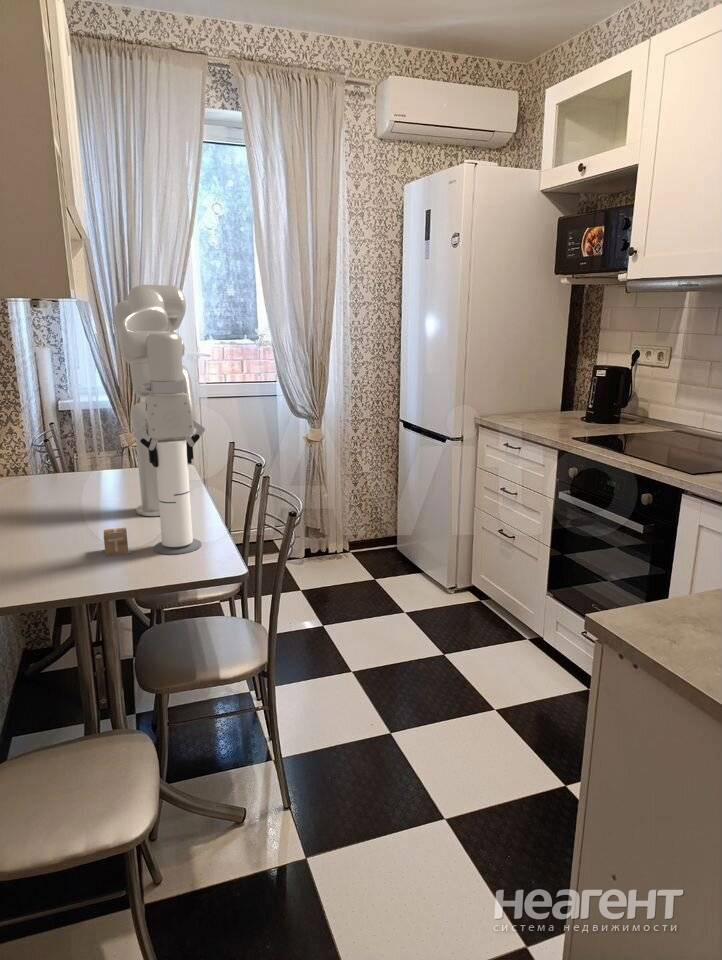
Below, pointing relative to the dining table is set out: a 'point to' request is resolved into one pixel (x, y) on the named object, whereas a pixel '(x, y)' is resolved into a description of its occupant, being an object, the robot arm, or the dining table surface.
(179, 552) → the charcoal mat
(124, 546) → the wooden letter cube
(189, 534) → the cylindrical container
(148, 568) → the dining table surface
